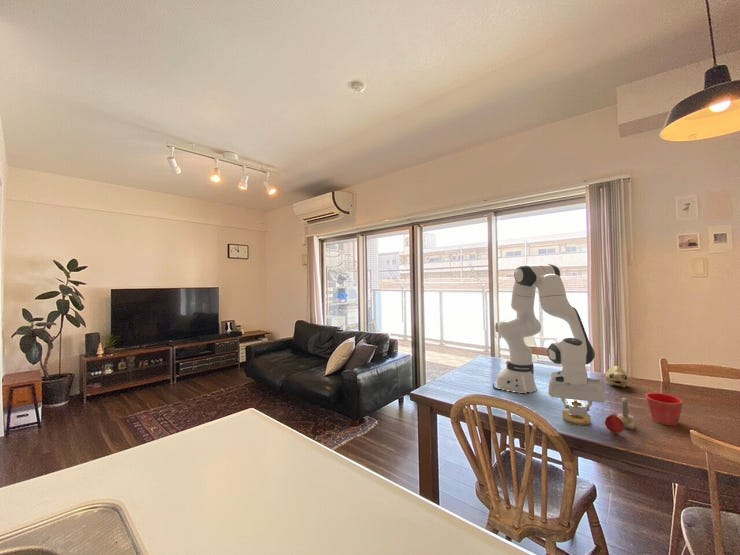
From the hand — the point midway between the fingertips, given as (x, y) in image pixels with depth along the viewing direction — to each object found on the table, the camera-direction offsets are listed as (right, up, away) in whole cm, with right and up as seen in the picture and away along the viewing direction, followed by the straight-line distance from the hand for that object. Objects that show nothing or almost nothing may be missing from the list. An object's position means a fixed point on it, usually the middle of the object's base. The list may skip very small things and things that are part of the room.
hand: (576, 409), depth 132 cm
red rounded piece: (+7, -5, -12) cm, 15 cm away
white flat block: (0, -1, 0) cm, 1 cm away
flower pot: (+34, -3, -4) cm, 34 cm away
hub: (0, -5, 0) cm, 5 cm away
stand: (+16, -4, -7) cm, 17 cm away
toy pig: (+45, -3, +34) cm, 57 cm away
